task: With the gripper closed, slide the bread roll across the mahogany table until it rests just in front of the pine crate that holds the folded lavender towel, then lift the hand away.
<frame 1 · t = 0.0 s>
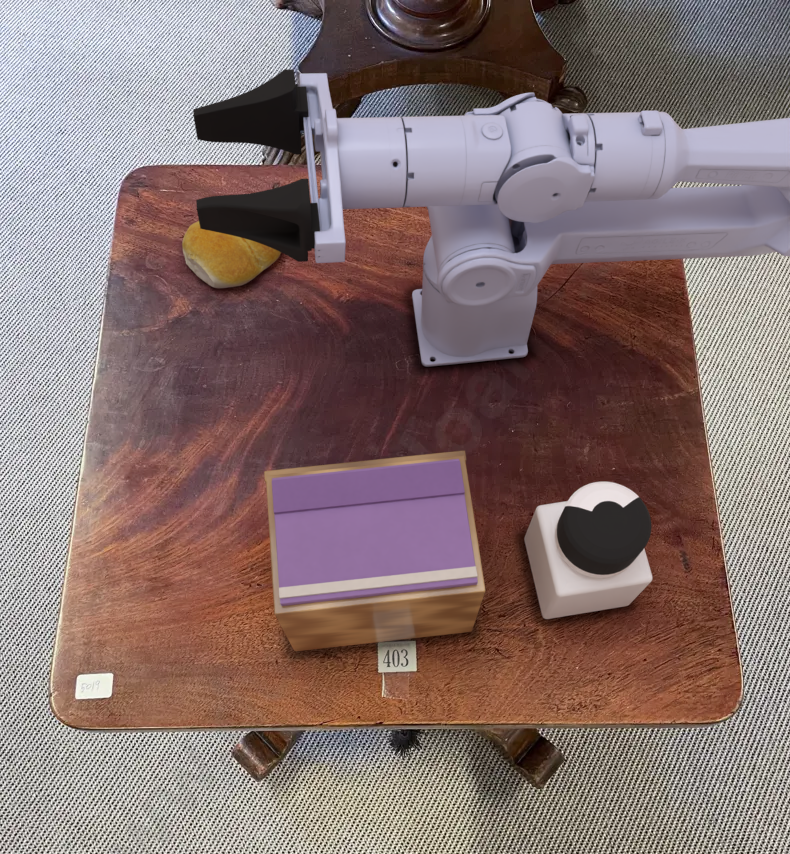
hand: (196, 168, 57), 22 cm above the table, tool horizontal, fingers open, 7 cm apart
bread roll: (234, 255, 81), on the table
crate: (376, 580, 69), on the table
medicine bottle: (575, 571, 69), on the table
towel: (372, 531, 58), resting on crate
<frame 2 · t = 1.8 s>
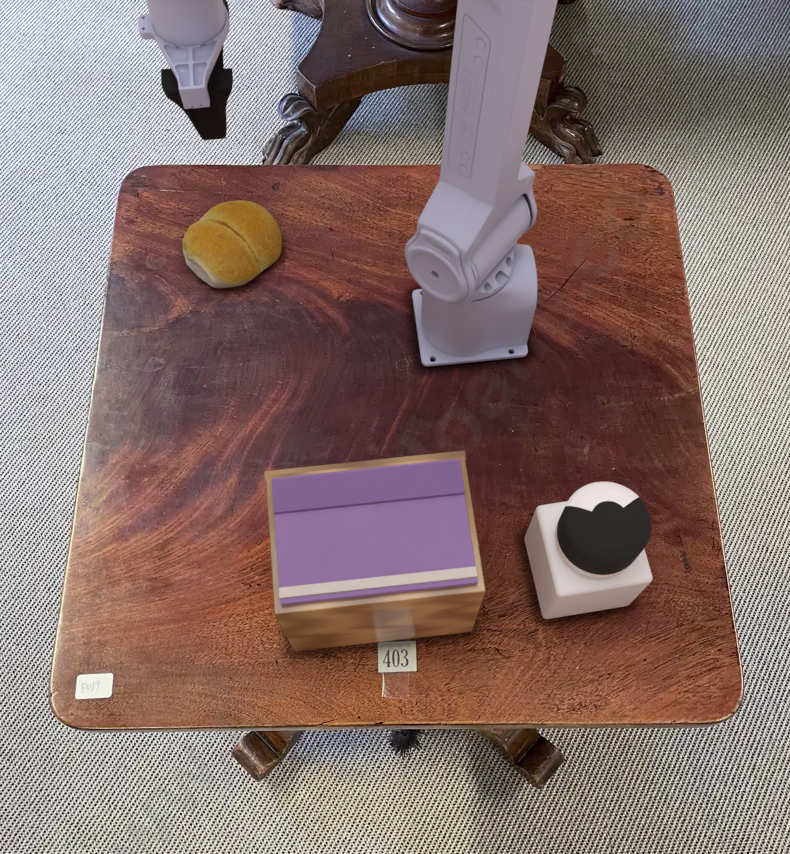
hand: (213, 112, 76), 8 cm above the table, tool pointing down, fingers open, 5 cm apart
nothing on the table moved.
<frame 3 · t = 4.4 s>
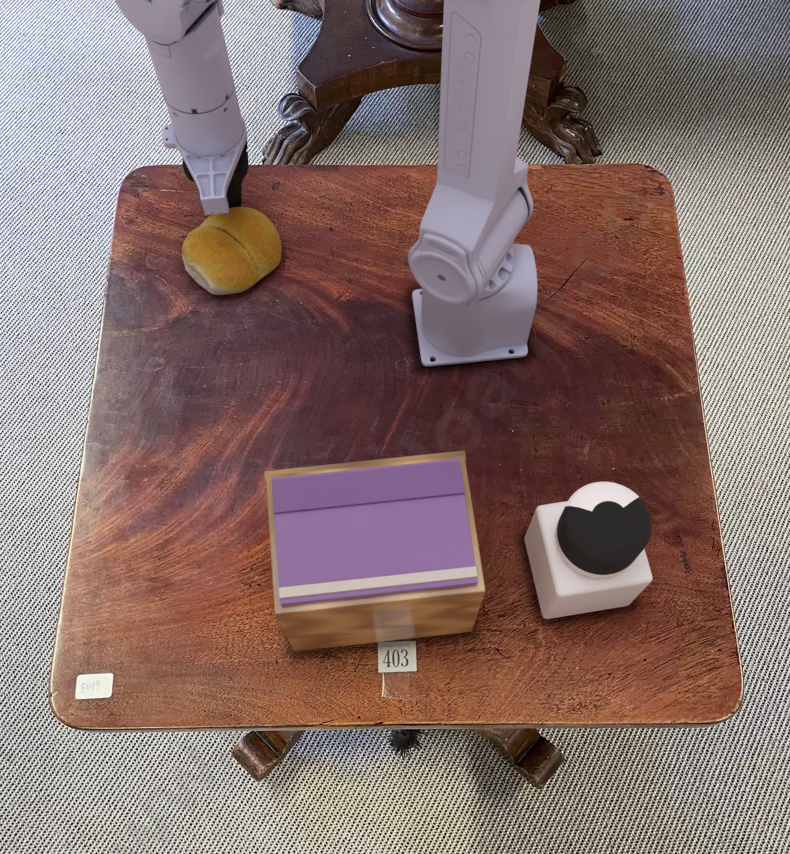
hand: (229, 205, 81), 1 cm above the table, tool pointing down, fingers closed
bread roll: (234, 261, 81), on the table, touching gripper
everything else where it was.
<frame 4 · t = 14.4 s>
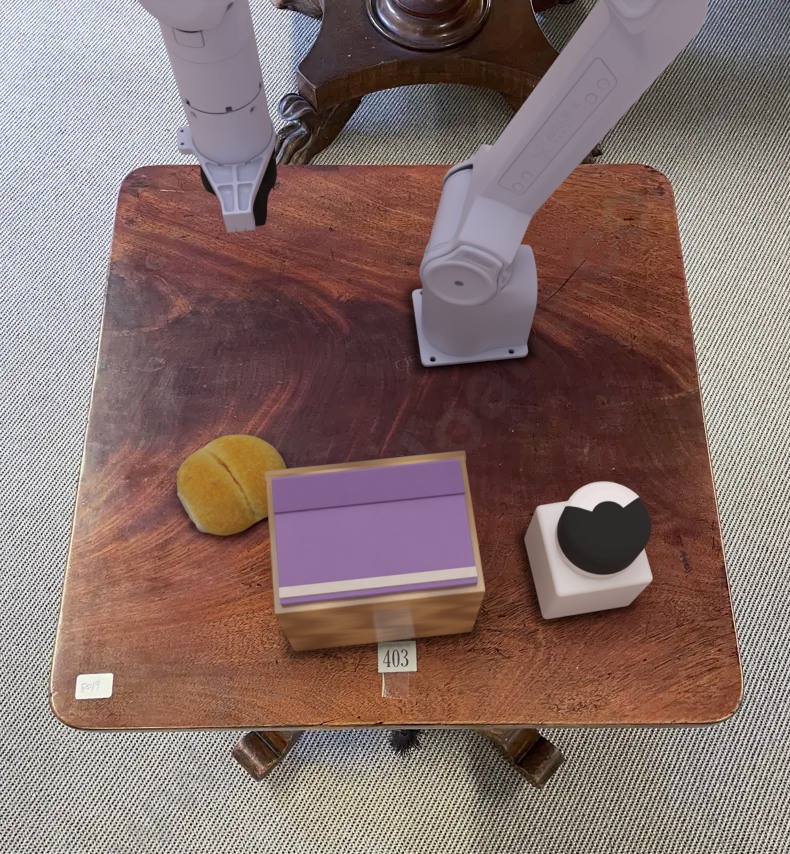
hand: (252, 219, 70), 9 cm above the table, tool pointing down, fingers closed
bread roll: (234, 491, 72), on the table
everything else where it was.
at the end: bread roll inside the target area under the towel (5.7 cm from its centre), point -11.7 cm above the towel's base; bread roll moved 24.2 cm from its start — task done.
